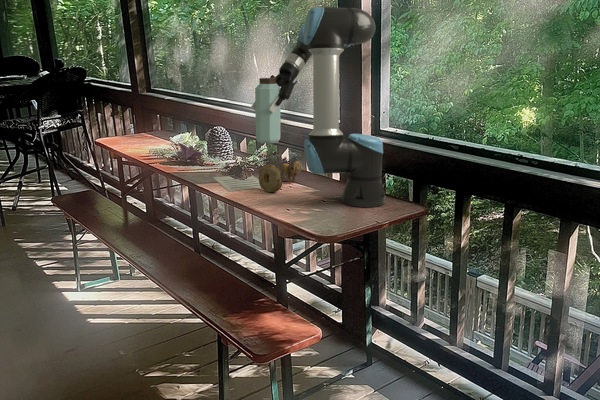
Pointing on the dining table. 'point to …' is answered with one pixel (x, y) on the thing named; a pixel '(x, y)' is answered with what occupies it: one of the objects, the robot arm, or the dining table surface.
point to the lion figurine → (290, 171)
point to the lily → (189, 153)
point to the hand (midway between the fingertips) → (262, 110)
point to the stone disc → (270, 178)
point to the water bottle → (267, 111)
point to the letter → (238, 183)
